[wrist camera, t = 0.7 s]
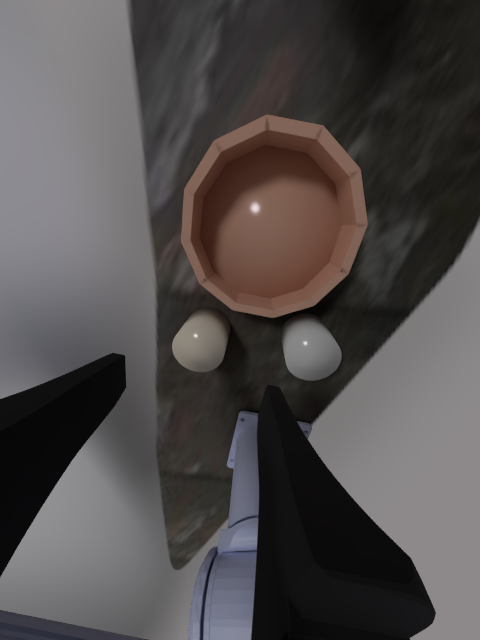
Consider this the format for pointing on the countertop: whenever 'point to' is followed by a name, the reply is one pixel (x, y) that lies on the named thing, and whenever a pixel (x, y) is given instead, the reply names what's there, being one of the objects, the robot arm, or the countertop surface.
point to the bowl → (273, 216)
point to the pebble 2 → (309, 347)
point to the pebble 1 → (202, 340)
